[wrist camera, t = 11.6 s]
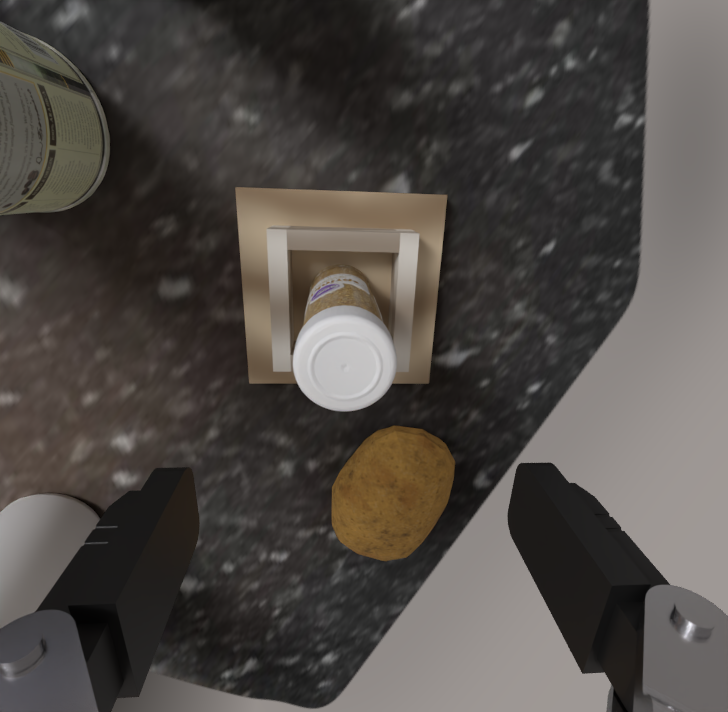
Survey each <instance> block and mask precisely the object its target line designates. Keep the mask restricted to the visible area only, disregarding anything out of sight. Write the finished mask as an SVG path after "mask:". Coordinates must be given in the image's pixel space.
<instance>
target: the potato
mask: <svg viewBox="0 0 728 712" xmlns="http://www.w3.org/2000/svg"><path fill="white" fill-rule="evenodd" d="M454 469H455V461H454V459H453V457H452V455H451V453H450V451H449V449H448V447H447V445H446V444H445V443H444V442H443V441H442V440H440V439H439V438H438V437H435V436H433V435H431V434H429V433H428V432H426V431H425V430H423V429H417V428H410V427H402V426H391V427H389V428H385V429H381V430H377V431H376V432H375V433H373V434H372V435H371V436H369V437H368V438H366V439H365V440H364V441H363V443H362V444H361V445H360V446H359V447H358V449H357V450H356V451H355V452H354V454H353V455H352V456H351V457H350V459H349V460H348V461H347V462H346V464H345V465H344V467H343V468H342V469H341V471H340V472H339V474H338V476H337V478H336V480H335V482H334V484H333V486H332V526H333V529H334V531H335V533H336V536H337V538H338V539H339V540H340V542H341V543H343V544H344V545H345V546H347V547H348V548H350V549H351V550H353V551H354V552H356V553H357V554H360V555H364V556H367V557H371V558H375V559H378V560H382V561H387V560H394V559H400V558H406V557H408V556H409V555H410V554H411V553H412V552H413V551H414V550H415V549H416V548H417V547H418V546H419V545H421V544H422V542H423V541H424V540H425V538H426V537H427V536H428V534H429V533H430V532H431V530H432V529H433V527H434V526H435V524H436V523H437V521H438V519H439V518H440V516H441V514H442V512H443V511H444V509H445V507H446V505H447V503H448V500H449V496H450V492H451V488H452V484H453V480H454Z"/></svg>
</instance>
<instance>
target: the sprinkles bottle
mask: <svg viewBox="0 0 728 712" xmlns="http://www.w3.org/2000/svg"><path fill="white" fill-rule="evenodd" d="M396 369H397V355H396V350H395V347H394V343H393V340H392V337H391V335H390V333H389V331H388V329H387V327H386V326H385V324H384V323H383V320H382V316H381V313H380V311H379V308H378V305H377V303H376V300H375V298H374V296H373V294H372V289H371V286H370V283H369V281H368V279H367V277H366V276H365V275H364V274H363V273H362V272H361V271H360V270H358V269H356V268H355V267H352V266H350V265H345V264H337V265H332V266H328V267H326V268H325V269H323V270H321V271H320V272H319V273H318V274H317V275H316V277H315V278H314V280H313V281H312V284H311V286H310V290H309V298H308V301H307V306H306V310H305V319H304V325H303V328H302V329H301V331H300V333H299V335H298V337H297V341H296V345H295V349H294V355H293V371H294V376H295V378H296V381H297V383H298V385H299V387H300V389H301V390H302V392H303V393H304V394H305V395H306V396H307V397H308V398H309V399H310V400H312V401H313V402H314V403H316V404H318V405H320V406H322V407H324V408H327V409H330V410H334V411H355V410H359V409H362V408H365V407H367V406H370V405H372V404H373V403H375V402H376V401H378V400H379V399H380V398H381V397H382V396H383V395H384V394H385V393H386V392H387V391H388V389H389V388H390V386H391V384H392V382H393V380H394V377H395V374H396Z"/></svg>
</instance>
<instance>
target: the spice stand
mask: <svg viewBox="0 0 728 712" xmlns="http://www.w3.org/2000/svg"><path fill="white" fill-rule="evenodd" d="M235 190H236V204H237V218H238V232H239V246H240V260H241V274H242V288H243V303H244V317H245V331H246V345H247V359H248V373H249V383H297V381H296V378H295V376H294V371H293V355H294V349H295V345H296V341H297V337H298V335H299V333H300V331H301V329H302V328H303V325H304V319H305V310H306V306H307V301H308V298H309V290H310V286H311V284H312V281H313V280H314V278H315V277H316V275H317V274H318V273H319V272H320V271H321V270H323V269H325V268H326V267H328V266H332V265H337V264H345V265H350V266H352V267H355V268H356V269H358V270H360V271H361V272H362V273H363V274H364V275H365V276H366V277H367V279H368V281H369V283H370V286H371V289H372V294H373V296H374V298H375V300H376V303H377V305H378V308H379V311H380V313H381V316H382V320H383V323H384V324H385V326H386V327H387V329H388V331H389V333H390V335H391V337H392V340H393V343H394V347H395V350H396V355H397V369H396V374H395V377H394V380H393V382H392V384H429V377H430V367H431V357H432V347H433V336H434V326H435V316H436V306H437V296H438V286H439V276H440V265H441V255H442V245H443V235H444V225H445V215H446V205H447V195H435V194H408V193H380V192H353V191H326V190H298V189H271V188H243V187H235ZM297 384H298V383H297Z"/></svg>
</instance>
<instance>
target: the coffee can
mask: <svg viewBox="0 0 728 712" xmlns="http://www.w3.org/2000/svg"><path fill="white" fill-rule="evenodd" d="M109 156H110V134H109V130H108V126H107V121H106V117H105V114H104V111H103V108H102V106H101V103H100V101H99V99H98V97H97V95H96V93H95V92H94V90H93V88H92V87H91V85H90V84H89V82H88V81H87V80H86V78H85V77H84V76H83V75H82V73H81V72H80V70H79V69H78V68H77V67H76V66H75V65H74V64H73V63H71V62H70V61H69V60H68V59H67V58H66V57H65V56H64V55H62V54H61V53H60V52H58V51H57V50H56V49H55V48H53V47H51V46H50V45H48V44H46V43H45V42H43V41H41V40H39V39H37V38H35V37H32V36H30V35H28V34H25V33H22V32H20V31H18V30H16V29H14V28H12V27H10V26H8V25H6V24H4V23H2V22H1V21H0V215H8V214H20V213H32V212H58V211H63V210H66V209H70V208H72V207H74V206H76V205H79V204H80V203H82V202H83V201H85V200H86V199H88V198H89V197H90V196H91V195H92V194H93V193H94V192H95V191H96V189H97V188H98V186H99V185H100V183H101V182H102V180H103V178H104V176H105V173H106V170H107V167H108V163H109Z"/></svg>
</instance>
